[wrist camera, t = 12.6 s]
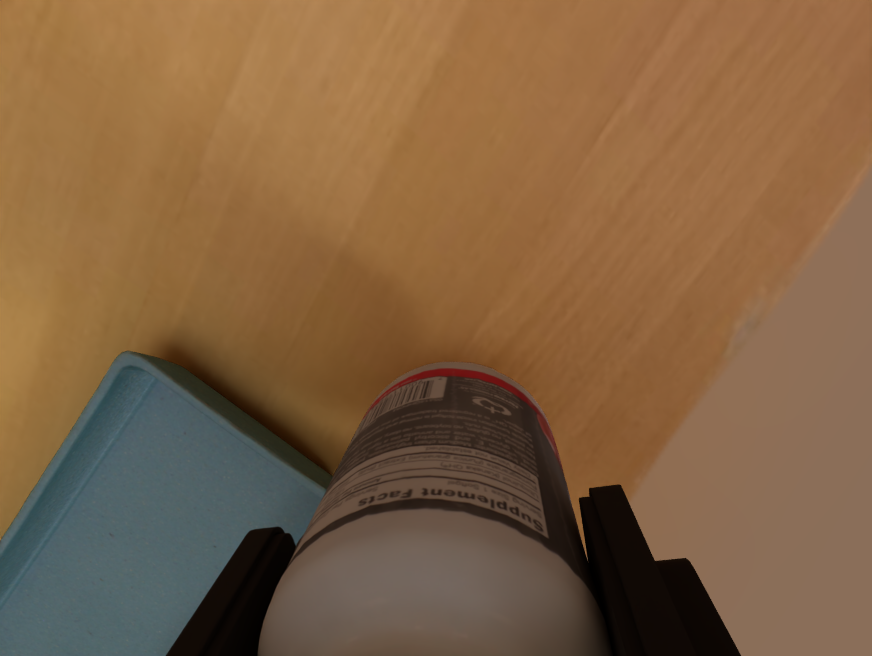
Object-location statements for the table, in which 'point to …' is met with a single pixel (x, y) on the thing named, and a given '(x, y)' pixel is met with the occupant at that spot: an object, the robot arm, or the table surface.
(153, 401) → the teal serving tray
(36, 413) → the table surface
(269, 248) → the table surface
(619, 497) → the robot arm
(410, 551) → the pill bottle
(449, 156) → the table surface
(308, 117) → the table surface
